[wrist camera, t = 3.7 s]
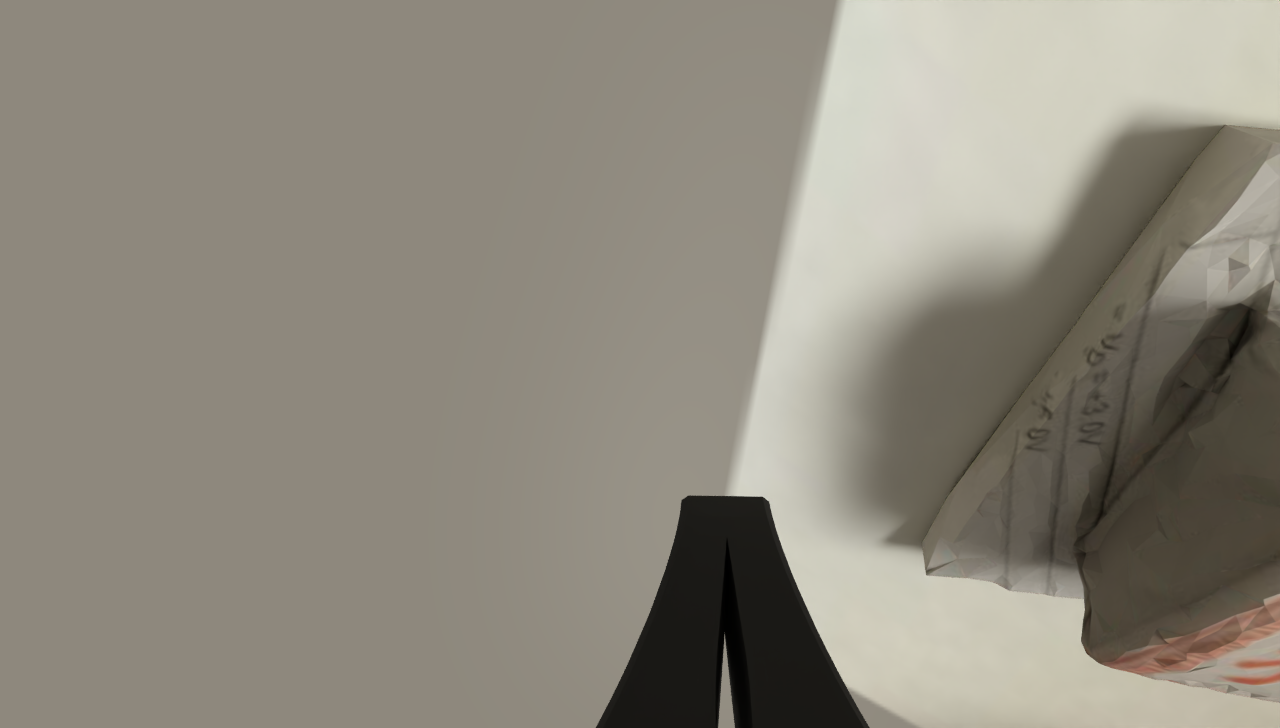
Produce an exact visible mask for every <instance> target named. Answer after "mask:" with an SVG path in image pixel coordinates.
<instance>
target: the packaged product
mask: <svg viewBox="0 0 1280 728" xmlns="http://www.w3.org/2000/svg"><path fill="white" fill-rule="evenodd" d="M922 547H923V555H924V562H925V570H926V575H928V576H943V577H958V578H970V579H977V580H984V581H990V582H994V583H996V584H998V585H1000V586H1002V587H1004V588H1005V589H1007V590H1009V591H1017V592H1026V593H1036V594H1044V595H1049V596H1055V597H1065V598H1078V599H1084V603H1085V613H1084V619H1083V628H1082V637H1081V642H1082V644H1083V646H1084V649H1085V651H1086V653H1087V654H1088V655H1089V656H1090V657H1092V658H1093V659H1094V660H1095V661H1097V662H1098V663H1100V664H1102V665H1105V666H1108V667H1110V668H1114V669H1118V670H1123V671H1127V672H1132V673H1135V674H1139V675H1142V676H1145V677H1148V678H1151V679H1155V680H1168V681H1172V682H1176V683H1180V684H1184V685H1188V686H1193V687H1202V688H1209V689H1213V690H1216V691H1220V692H1224V693H1228V694H1234V695H1240V696H1245V697H1251V698H1256V699H1261V700H1266V701H1272V702H1279V703H1280V130H1274V129H1262V128H1251V127H1240V126H1229V125H1225V126H1224V127H1223V128H1222V129H1221V130H1220V131H1219V132H1218V134H1217V135H1216V136H1215V137H1214V138H1213V139H1212V141H1211V142H1210V143H1209V144H1208V145H1207V146H1206V148H1205V149H1204V150H1203V151H1202V152H1201V153H1200V154H1199V156H1198V157H1197V158H1196V159H1195V161H1194V162H1193V163H1192V165H1191V166H1190V168H1189V169H1188V170H1187V172H1186V173H1185V174H1184V176H1183V177H1182V178H1181V180H1180V181H1179V183H1178V184H1177V185H1176V187H1175V188H1174V189H1173V191H1172V192H1171V193H1170V195H1169V196H1168V198H1167V199H1166V200H1165V202H1164V203H1163V204H1162V206H1161V207H1160V208H1159V210H1158V211H1157V213H1156V214H1155V215H1154V217H1153V218H1152V219H1151V221H1150V222H1149V223H1148V225H1147V226H1146V228H1145V229H1144V230H1143V232H1142V233H1141V234H1140V236H1139V237H1138V238H1137V240H1136V241H1135V243H1134V244H1133V245H1132V247H1131V248H1130V249H1129V251H1128V252H1127V253H1126V255H1125V256H1124V258H1123V259H1122V260H1121V262H1120V263H1119V264H1118V266H1117V267H1116V268H1115V270H1114V271H1113V273H1112V274H1111V275H1110V277H1109V278H1108V279H1107V281H1106V282H1105V283H1104V285H1103V286H1102V288H1101V289H1100V290H1099V292H1098V293H1097V294H1096V296H1095V297H1094V298H1093V300H1092V301H1091V303H1090V304H1089V305H1088V307H1087V308H1086V309H1085V311H1084V312H1083V314H1082V315H1081V317H1080V318H1079V320H1078V322H1077V323H1076V325H1075V326H1074V327H1073V328H1072V330H1071V331H1070V332H1069V333H1068V334H1067V336H1066V337H1065V338H1064V340H1063V341H1062V342H1061V344H1060V345H1059V346H1058V348H1057V349H1056V350H1055V352H1054V353H1053V354H1052V355H1051V357H1050V358H1049V359H1048V361H1047V362H1046V363H1045V365H1044V366H1043V367H1042V369H1041V370H1040V371H1039V373H1038V374H1037V375H1036V377H1035V378H1034V379H1033V380H1032V382H1031V383H1030V384H1029V386H1028V387H1027V388H1026V390H1025V391H1024V392H1023V394H1022V395H1021V396H1020V398H1019V399H1018V401H1017V402H1016V403H1015V405H1014V406H1013V408H1012V409H1011V410H1010V412H1009V413H1008V414H1007V416H1006V417H1005V419H1004V420H1003V421H1002V423H1001V424H1000V425H999V427H998V428H997V430H996V431H995V432H994V434H993V435H992V437H991V438H990V439H989V441H988V442H987V443H986V445H985V446H984V448H983V449H982V450H981V452H980V453H979V454H978V456H977V457H976V459H975V460H974V461H973V463H972V464H971V466H970V467H969V468H968V470H967V471H966V472H965V474H964V475H963V477H962V478H961V479H960V481H959V482H958V483H957V485H956V486H955V487H954V489H953V490H952V491H951V493H950V494H949V495H948V497H947V498H946V500H945V502H944V504H943V505H942V507H941V509H940V511H939V513H938V515H937V516H936V518H935V520H934V522H933V524H932V525H931V527H930V529H929V531H928V533H927V534H926V536H925V538H924V540H923V541H922Z"/></svg>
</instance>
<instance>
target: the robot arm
mask: <svg viewBox="0 0 1280 728" xmlns="http://www.w3.org/2000/svg"><path fill="white" fill-rule="evenodd" d="M724 634H725V639H726V649H727V658H728V667H729V677H730V685H731V695H732V704H733V713H734V723H735V728H869V726H868V724H867V723H866V721H865V719H864V718H863V716H862V714H861V713H860V711H859V709H858V707H857V706H856V704H855V702H854V700H853V699H852V697H851V695H850V693H849V691H848V689H847V687H846V686H845V684H844V682H843V680H842V678H841V676H840V674H839V673H838V671H837V669H836V667H835V665H834V663H833V661H832V659H831V657H830V655H829V653H828V651H827V649H826V648H825V645H824V643H823V641H822V639H821V637H820V635H819V633H818V631H817V629H816V627H815V625H814V623H813V620H812V618H811V616H810V614H809V612H808V609H807V607H806V605H805V603H804V601H803V598H802V596H801V594H800V592H799V590H798V587H797V585H796V582H795V580H794V578H793V575H792V573H791V570H790V567H789V565H788V562H787V560H786V557H785V554H784V552H783V549H782V546H781V543H780V540H779V537H778V534H777V531H776V528H775V524H774V521H773V517H772V513H771V509H770V504H769V501H767V500H766V499H765V498H764V497H743V496H687V497H686V498H685V499H683V500H682V502H681V511H680V517H679V522H678V526H677V531H676V535H675V539H674V543H673V546H672V550H671V554H670V556H669V560H668V563H667V566H666V570H665V572H664V575H663V578H662V581H661V584H660V587H659V589H658V592H657V595H656V597H655V600H654V603H653V606H652V608H651V611H650V614H649V616H648V618H647V621H646V623H645V626H644V628H643V630H642V632H641V635H640V637H639V639H638V642H637V644H636V647H635V649H634V651H633V653H632V656H631V658H630V660H629V663H628V665H627V667H626V669H625V671H624V673H623V675H622V677H621V680H620V682H619V684H618V686H617V688H616V690H615V692H614V694H613V696H612V698H611V700H610V702H609V704H608V706H607V708H606V709H605V711H604V713H603V715H602V717H601V719H600V721H599V723H598V725H597V727H596V728H718V719H719V706H720V692H721V677H722V663H723V649H724Z"/></svg>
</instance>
